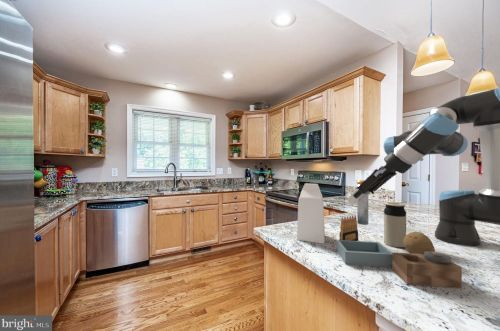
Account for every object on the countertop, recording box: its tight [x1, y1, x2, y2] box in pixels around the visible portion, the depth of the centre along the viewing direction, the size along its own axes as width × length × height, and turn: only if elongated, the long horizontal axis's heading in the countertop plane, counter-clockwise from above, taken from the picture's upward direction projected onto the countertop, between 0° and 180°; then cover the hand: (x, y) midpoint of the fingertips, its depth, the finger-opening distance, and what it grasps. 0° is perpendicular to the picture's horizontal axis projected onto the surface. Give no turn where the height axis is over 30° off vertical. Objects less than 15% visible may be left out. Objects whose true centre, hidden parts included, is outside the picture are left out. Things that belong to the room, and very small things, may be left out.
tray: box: [335, 239, 393, 268], centre depth 78 cm, size 16×12×4 cm
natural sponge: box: [403, 231, 436, 254], centre depth 77 cm, size 9×9×10 cm
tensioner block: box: [391, 251, 463, 289], centre depth 63 cm, size 14×8×8 cm, turn 81°
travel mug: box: [383, 201, 407, 249], centre depth 91 cm, size 8×8×18 cm
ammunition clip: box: [339, 214, 359, 241], centre depth 94 cm, size 11×2×12 cm, turn 118°
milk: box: [296, 183, 326, 244], centre depth 101 cm, size 12×12×26 cm
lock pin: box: [356, 179, 369, 226], centre depth 78 cm, size 4×4×16 cm
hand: (352, 201), depth 81 cm, fingers closed on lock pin, 3 cm apart
